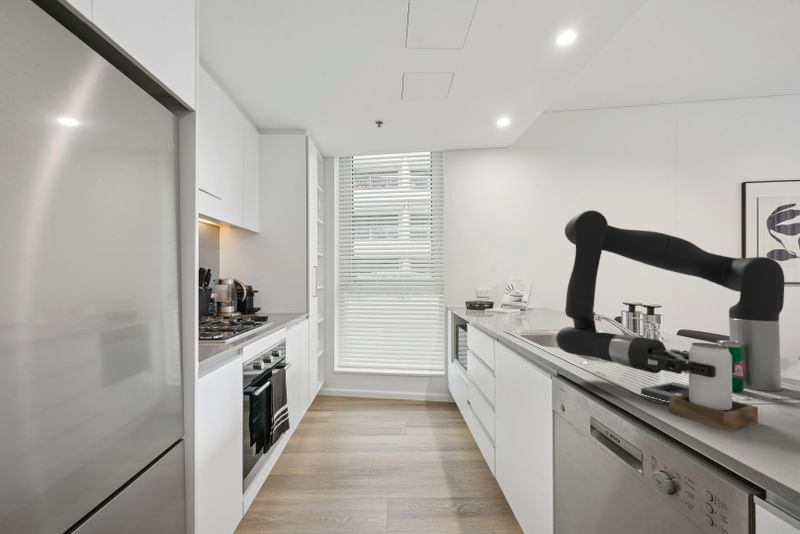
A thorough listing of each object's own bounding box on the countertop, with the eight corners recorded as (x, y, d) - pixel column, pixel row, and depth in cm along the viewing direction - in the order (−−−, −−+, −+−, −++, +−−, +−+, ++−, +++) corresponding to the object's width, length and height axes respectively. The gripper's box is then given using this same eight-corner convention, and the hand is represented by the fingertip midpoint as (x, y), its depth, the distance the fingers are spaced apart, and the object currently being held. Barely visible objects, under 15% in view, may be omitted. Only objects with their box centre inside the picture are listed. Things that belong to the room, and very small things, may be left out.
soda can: (737, 394, 85) (736, 343, 85) (711, 388, 90) (710, 340, 90) (748, 391, 87) (747, 342, 87) (722, 385, 92) (721, 339, 92)
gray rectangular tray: (673, 388, 89) (673, 382, 89) (717, 399, 81) (717, 392, 81) (641, 395, 84) (641, 388, 84) (684, 408, 75) (684, 400, 76)
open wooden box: (696, 405, 77) (696, 391, 77) (758, 422, 68) (757, 406, 68) (669, 412, 73) (668, 397, 73) (730, 431, 64) (730, 414, 64)
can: (740, 413, 67) (740, 349, 67) (701, 410, 68) (701, 347, 68) (717, 401, 73) (717, 343, 73) (681, 398, 74) (682, 341, 75)
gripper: (616, 338, 81) (704, 353, 66) (655, 335, 87) (743, 348, 72) (616, 371, 81) (704, 394, 65) (655, 365, 87) (743, 385, 71)
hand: (724, 370), depth 69 cm, fingers closed on can, 6 cm apart
